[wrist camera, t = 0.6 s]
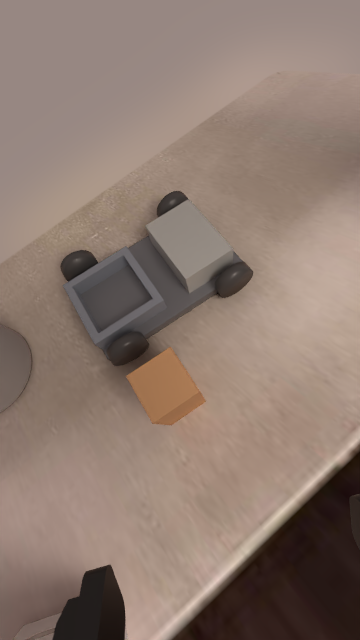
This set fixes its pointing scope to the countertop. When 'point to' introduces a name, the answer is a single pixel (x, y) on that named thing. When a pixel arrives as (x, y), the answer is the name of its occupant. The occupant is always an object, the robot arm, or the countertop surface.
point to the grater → (42, 628)
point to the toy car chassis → (152, 279)
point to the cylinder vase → (13, 366)
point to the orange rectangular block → (165, 388)
